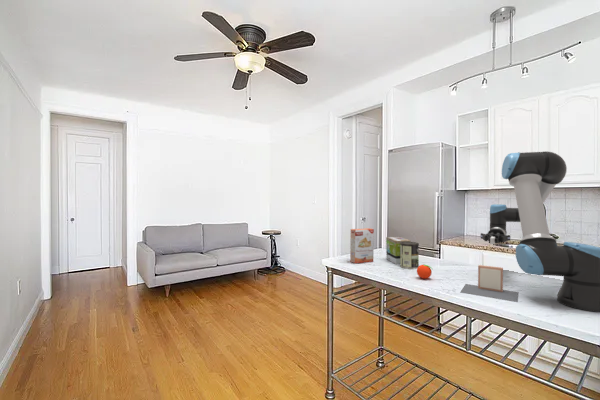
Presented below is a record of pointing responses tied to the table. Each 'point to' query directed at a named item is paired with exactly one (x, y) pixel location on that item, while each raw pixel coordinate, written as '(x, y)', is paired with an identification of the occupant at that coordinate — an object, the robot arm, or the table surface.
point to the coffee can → (409, 255)
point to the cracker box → (362, 245)
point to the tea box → (394, 248)
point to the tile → (490, 278)
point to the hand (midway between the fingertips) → (492, 241)
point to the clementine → (424, 271)
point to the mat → (490, 293)
